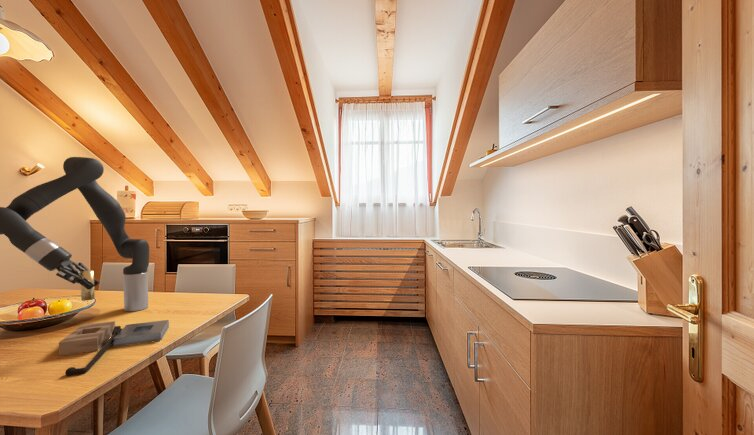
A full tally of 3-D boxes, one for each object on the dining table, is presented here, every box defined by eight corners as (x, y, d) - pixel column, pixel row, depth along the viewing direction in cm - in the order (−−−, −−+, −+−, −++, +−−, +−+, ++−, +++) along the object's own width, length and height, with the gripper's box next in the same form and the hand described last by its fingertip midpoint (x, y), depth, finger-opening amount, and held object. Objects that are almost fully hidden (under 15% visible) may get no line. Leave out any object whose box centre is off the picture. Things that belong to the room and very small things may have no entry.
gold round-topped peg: (83, 298, 116) (82, 270, 115) (96, 297, 117) (95, 269, 117) (79, 301, 112) (78, 272, 112) (92, 299, 114) (91, 271, 113)
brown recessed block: (82, 336, 121) (82, 324, 121) (115, 332, 125) (115, 321, 125) (59, 356, 106) (58, 342, 106) (97, 350, 110) (97, 337, 109)
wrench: (63, 383, 93) (108, 336, 121) (85, 381, 95) (124, 335, 123) (63, 366, 93) (108, 323, 121) (85, 364, 95) (124, 322, 122)
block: (126, 332, 125) (126, 324, 125) (168, 327, 131) (168, 319, 131) (113, 347, 113) (113, 338, 112) (161, 340, 118) (160, 332, 118)
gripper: (47, 248, 105) (95, 282, 110) (68, 243, 118) (111, 274, 123) (26, 266, 103) (76, 299, 108) (50, 259, 116) (94, 289, 121)
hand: (94, 285), depth 115 cm, fingers closed on gold round-topped peg, 3 cm apart
